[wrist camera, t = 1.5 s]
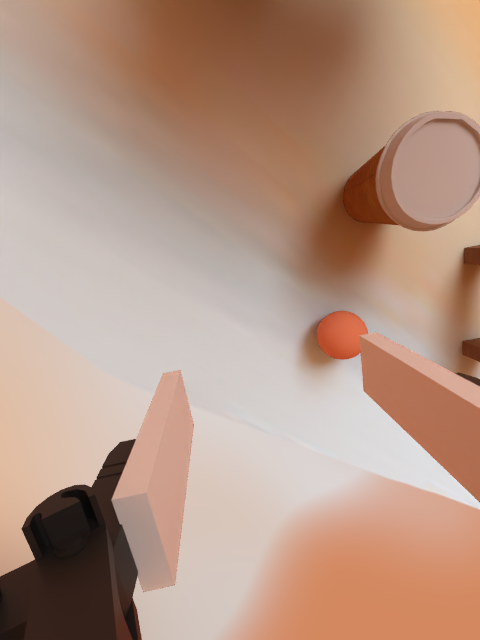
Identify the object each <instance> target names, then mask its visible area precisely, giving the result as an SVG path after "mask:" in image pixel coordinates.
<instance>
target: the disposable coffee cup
mask: <svg viewBox="0 0 480 640" xmlns="http://www.w3.org/2000/svg"><path fill="white" fill-rule="evenodd" d="M479 196H480V126H479V125H478V124H477V123H476V122H475V121H474V120H472V119H471V118H469V117H468V116H466V115H464V114H462V113H458V112H452V111H445V112H442V111H433V112H426V113H423V114H420V115H418V116H416V117H413V118H412V119H410V120H409V121H407V122H406V123H404V124H403V125H402V126H401V127H400V128H399V129H398V130H397V131H396V132H395V133H394V134H393V135H392V137H391V138H390V140H389V141H388V143H387V144H386V146H385V147H383V148H382V149H381V150H380V151H379V152H378V153H377V154H375V155H374V156H373V157H372V158H371V159H370V160H369V161H368V162H366V163H365V164H364V165H363V166H362V167H361V168H360V169H359V170H357V171H356V172H355V173H354V174H353V175H352V176H351V177H350V178H349V180H348V181H347V183H346V185H345V189H344V195H343V200H344V205H345V208H346V210H347V212H348V213H349V215H350V216H352V217H353V218H354V219H356V220H358V221H361V222H370V223H380V224H392V225H400V226H402V227H404V228H407V229H410V230H414V231H430V230H435V229H438V228H441V227H443V226H446V225H447V224H449V223H451V222H452V221H454V220H455V219H456V218H458V217H459V216H461V215H462V214H464V213H465V212H466V211H467V210H468V209H469V208H471V207H472V205H473V204H474V203H475V202H476V200H477V199H478V198H479Z"/></svg>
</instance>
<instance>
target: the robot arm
mask: <svg viewBox="0 0 480 640" xmlns="http://www.w3.org/2000/svg"><path fill="white" fill-rule="evenodd" d="M360 348H361V362H362V375H363V388H364V392H366V393H367V394H368V395H369V396H370V397H371V398H372V399H373V400H374V401H375V402H376V403H377V404H378V405H379V406H380V407H381V408H382V409H383V410H384V411H385V412H386V413H387V414H388V415H389V416H390V417H392V418H393V419H394V420H395V421H396V422H397V423H398V424H399V425H400V426H401V427H402V428H403V429H404V430H405V431H406V432H407V433H408V434H409V435H410V436H411V437H412V438H413V439H414V440H415V441H417V442H418V443H419V444H420V445H421V446H422V447H423V448H424V449H425V450H426V451H427V452H428V453H429V454H430V455H431V456H432V457H433V458H434V459H435V460H436V461H437V462H438V463H439V464H440V465H441V466H443V467H444V468H445V469H446V470H447V471H448V472H449V473H450V474H451V475H452V476H453V477H454V478H455V479H456V480H457V481H458V482H459V483H460V484H461V485H462V486H463V487H464V488H465V489H466V490H467V491H469V492H470V493H471V494H472V495H473V496H474V497H475V498H476V499H477V500H478V501H479V502H480V379H478V378H475V377H472V376H468V375H465V374H461V373H453V372H451V371H449V370H447V369H445V368H443V367H441V366H440V365H438V364H436V363H434V362H432V361H430V360H428V359H426V358H424V357H422V356H420V355H419V354H417V353H415V352H413V351H411V350H409V349H407V348H405V347H403V346H401V345H400V344H398V343H396V342H394V341H392V340H390V339H388V338H386V337H384V336H382V335H380V334H379V333H377V332H375V333H370V334H364V335H360ZM193 427H194V424H193V420H192V416H191V412H190V407H189V403H188V399H187V395H186V391H185V387H184V383H183V379H182V374H181V370H179V371H174V372H169V373H164V374H163V375H162V377H161V380H160V382H159V385H158V387H157V390H156V392H155V394H154V397H153V399H152V402H151V404H150V407H149V409H148V412H147V414H146V417H145V419H144V422H143V424H142V426H141V429H140V431H139V434H138V436H137V439H133V440H129V441H124V442H120V443H119V444H118V445H117V446H116V447H115V448H114V449H113V450H112V451H111V452H110V453H109V455H108V456H107V458H106V460H105V462H104V464H103V466H102V469H101V470H100V472H99V474H98V476H97V480H95V482H94V484H93V486H92V487H89V486H87V485H74V486H72V487H68V488H65V489H63V490H60V491H59V492H57V493H55V494H53V495H52V496H50V497H48V498H47V499H46V500H44V501H43V502H42V503H41V504H39V505H38V506H37V507H36V508H35V509H34V510H33V511H32V513H31V514H30V515H29V516H28V517H27V519H26V521H25V523H24V525H23V527H22V531H23V533H24V535H25V537H26V540H27V542H28V544H29V546H30V548H31V551H32V552H33V555H34V557H35V560H33V561H31V562H30V563H28V564H25V565H23V566H21V567H19V568H17V569H15V570H13V571H11V572H9V573H7V574H5V575H3V576H1V577H0V640H142V639H141V633H140V626H139V620H138V614H137V609H136V606H135V604H134V601H133V598H132V597H133V592H134V588H135V584H136V579H137V575H138V578H139V581H140V584H141V587H142V590H143V592H146V591H150V590H155V589H159V588H164V587H169V586H173V585H175V580H176V572H177V563H178V555H179V546H180V538H181V529H182V520H183V512H184V503H185V495H186V487H187V478H188V470H189V461H190V452H191V443H192V436H193Z"/></svg>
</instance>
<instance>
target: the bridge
mask: <svg viewBox="0 0 480 640" xmlns="http://www.w3.org/2000/svg"><path fill="white" fill-rule="evenodd" d="M464 263H468V264H480V245H478V246H472V247H467V248H465V259H464ZM463 355H465V356H468V357H470V358H472V359H475V360H477V361H479V362H480V338H477V339H472V340H467V341H463Z"/></svg>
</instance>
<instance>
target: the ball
mask: <svg viewBox="0 0 480 640" xmlns="http://www.w3.org/2000/svg"><path fill="white" fill-rule="evenodd" d="M364 334H368V331H367V328H366V325H365V323H364V322H363V321H362V320H361V318H359V317H358V316H357V315H355V314H353V313H351V312H347V311H337V312H333V313H331V314H329V315H327V316H326V317H325V318H324V319H323V320H322V321H321V322H320V324H319V326H318V329H317V340H318V343H319V346H320V347H321V349H322V350H323V351H324V352H325V353H326V354H327V355H329V356H331V357H333V358H336V359H350V358H353V357H355V356H357V355H358V354H359V353H361V348H360V335H364Z"/></svg>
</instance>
